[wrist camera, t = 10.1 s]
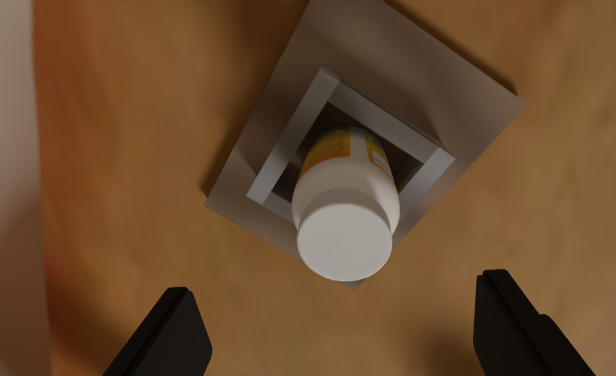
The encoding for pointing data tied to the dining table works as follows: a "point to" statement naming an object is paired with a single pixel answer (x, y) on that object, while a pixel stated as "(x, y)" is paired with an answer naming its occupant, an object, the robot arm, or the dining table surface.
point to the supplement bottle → (345, 205)
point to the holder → (360, 115)
